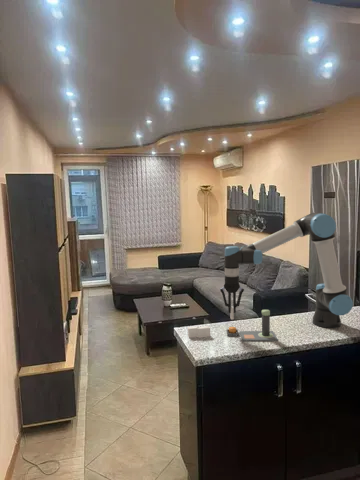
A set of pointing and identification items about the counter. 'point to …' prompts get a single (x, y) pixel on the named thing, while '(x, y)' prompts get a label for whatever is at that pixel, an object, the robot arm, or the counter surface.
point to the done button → (232, 329)
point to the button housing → (232, 333)
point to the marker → (266, 322)
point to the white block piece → (199, 331)
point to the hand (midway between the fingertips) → (232, 318)
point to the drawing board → (257, 336)
